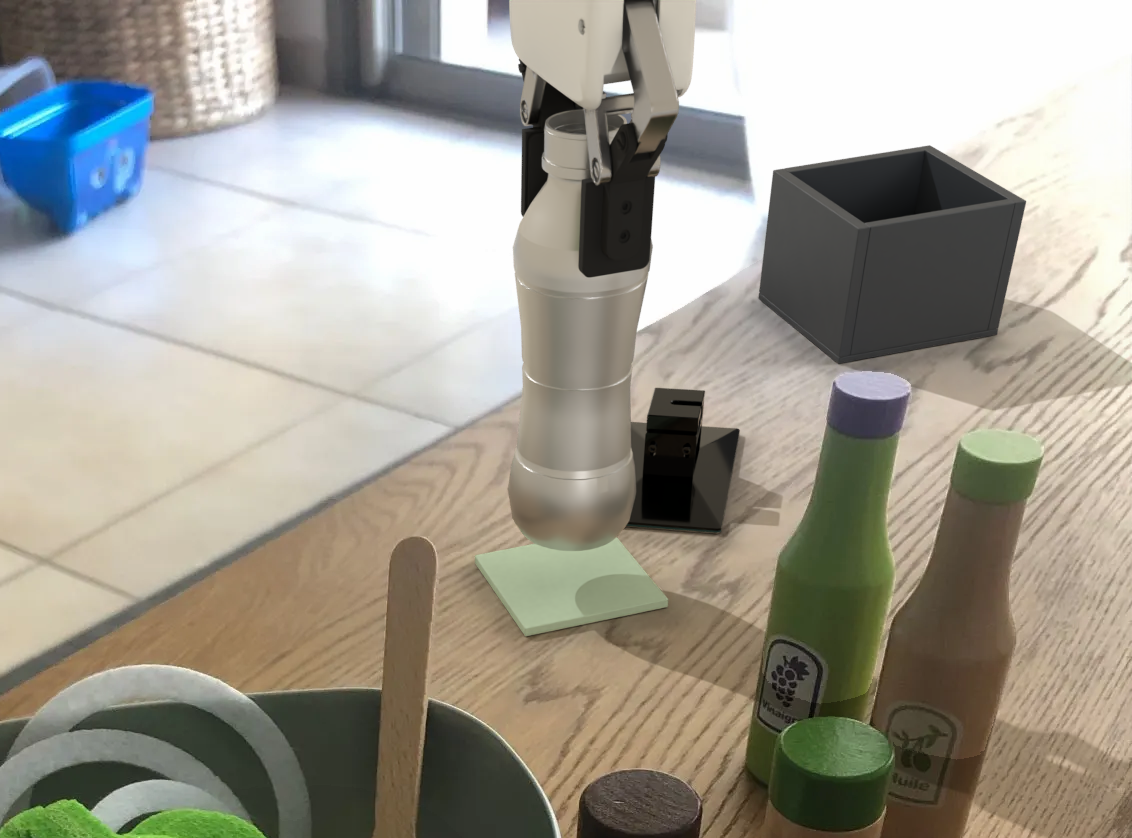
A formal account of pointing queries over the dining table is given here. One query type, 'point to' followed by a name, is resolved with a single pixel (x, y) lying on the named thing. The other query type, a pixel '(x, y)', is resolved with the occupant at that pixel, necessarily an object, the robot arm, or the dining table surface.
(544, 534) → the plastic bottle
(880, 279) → the open box
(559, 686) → the dining table surface
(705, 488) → the black piece
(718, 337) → the dining table surface
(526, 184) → the robot arm
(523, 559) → the mat
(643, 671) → the dining table surface
